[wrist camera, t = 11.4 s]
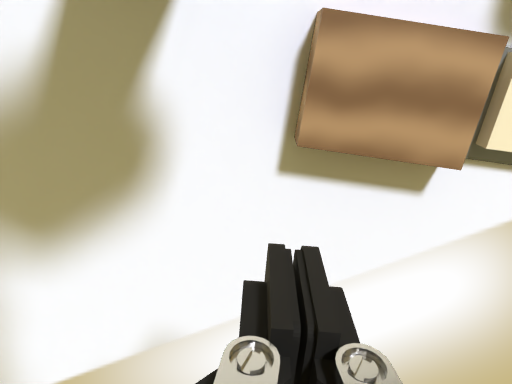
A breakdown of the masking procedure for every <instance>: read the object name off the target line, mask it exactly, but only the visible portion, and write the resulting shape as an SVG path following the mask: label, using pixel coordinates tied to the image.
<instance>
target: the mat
mask: <svg viewBox="0 0 512 384" xmlns="http://www.w3.org/2000/svg"><path fill="white" fill-rule="evenodd" d="M508 52H512V48H508V47H505V50H504V52H503V55H502V58H501V61H500V64H499V66H498V69H497V72H496V75H495V77H494V80H493V83H492V86H491V89H490V91H489V94H488V97H487V100H486V102H485V105H484V108H483V111H482V114H481V116H480V119H479V122H478V125H477V127H476V130H475V133H474V136H473V139H472V141H471V144H470V147H469V150H468V152H467V155H466V158H468V159H475V160H482V161H489V162H496V163H502V164H509V165H512V152H507V151H500V150H492V149H486V148H484V147H481V146H479V145H477V144H476V141H477V138H478V135H479V133H480V130H481V127H482V124H483V121H484V118H485V116H486V113H487V110H488V107H489V104H490V101H491V99H492V96H493V93H494V90H495V87H496V84H497V82H498V79H499V76H500V73H501V70H502V67H503V65H504V62H505V59H506V56H507V53H508Z"/></svg>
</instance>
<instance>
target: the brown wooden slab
mask: <svg viewBox="0 0 512 384" xmlns="http://www.w3.org/2000/svg"><path fill="white" fill-rule="evenodd" d="M508 39H509V37H508V36H502V35H495V34H489V33H482V32H476V31H470V30H463V29H457V28H450V27H444V26H438V25H431V24H425V23H418V22H412V21H405V20H399V19H393V18H386V17H380V16H373V15H367V14H360V13H354V12H348V11H341V10H335V9H328V8H322V9H321V10H320V11H318V12H317V17H316V22H315V28H314V33H313V39H312V44H311V50H310V55H309V60H308V66H307V71H306V77H305V82H304V88H303V93H302V99H301V104H300V110H299V115H298V121H297V126H296V132H295V140H296V143H297V146H300V147H307V148H313V149H320V150H327V151H334V152H341V153H347V154H354V155H361V156H368V157H375V158H381V159H388V160H395V161H402V162H409V163H415V164H422V165H429V166H436V167H442V168H449V169H456V170H461V169H462V166H463V164H464V161H465V158H466V155H467V152H468V150H469V147H470V144H471V141H472V139H473V136H474V133H475V130H476V127H477V125H478V122H479V119H480V116H481V114H482V111H483V108H484V105H485V102H486V100H487V97H488V94H489V91H490V89H491V86H492V83H493V80H494V77H495V75H496V72H497V69H498V66H499V64H500V61H501V58H502V55H503V52H504V50H505V47H506V44H507V41H508Z"/></svg>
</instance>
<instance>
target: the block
mask: <svg viewBox="0 0 512 384" xmlns="http://www.w3.org/2000/svg"><path fill="white" fill-rule="evenodd" d="M476 144H477V145H479V146H481V147H484V148H486V149H492V150H500V151H507V152H512V52H508V53H507V56H506V59H505V62H504V65H503V67H502V70H501V73H500V76H499V79H498V82H497V84H496V87H495V90H494V93H493V96H492V99H491V101H490V104H489V107H488V110H487V113H486V116H485V118H484V121H483V124H482V127H481V130H480V133H479V135H478V138H477V141H476Z"/></svg>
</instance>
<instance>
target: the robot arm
mask: <svg viewBox="0 0 512 384" xmlns="http://www.w3.org/2000/svg"><path fill="white" fill-rule="evenodd" d="M196 384H402V382H401V380H400V378H399V376H398V375H397V373H396V371H395V370H394V368H393V366H392V364H391V363H390V361H389V360H388V359H387V357H386V356H385V355H383V354H382V353H381V352H380V351H378V350H376V349H374V348H373V347H371V346H368V345H365V344H360V342H359V338H358V335H357V332H356V329H355V326H354V323H353V320H352V317H351V313H350V311H349V307H348V304H347V301H346V298H345V295H344V292H343V289H342V288H341V287H329V285H328V281H327V277H326V273H325V270H324V266H323V262H322V258H321V255H320V251H319V248H318V247H311V246H302V247H301V250H295V253H294V261H293V262H292V255H291V249H285V245H284V244H270V243H269V244H268V252H267V262H266V272H265V282H260V281H246V280H244V283H243V295H242V308H241V320H240V332H239V338H237V339H235V340H233V341H232V342H230V343H229V344H228V345H227V347H226V349H225V350H224V352H223V355H222V358H221V362H220V365H219V368H218V369H216V370H215V371H213V372H212V373H210V374H209V375H207V376H206V377H205V378H203V379H202V380H200V381H199V382H197V383H196Z"/></svg>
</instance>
